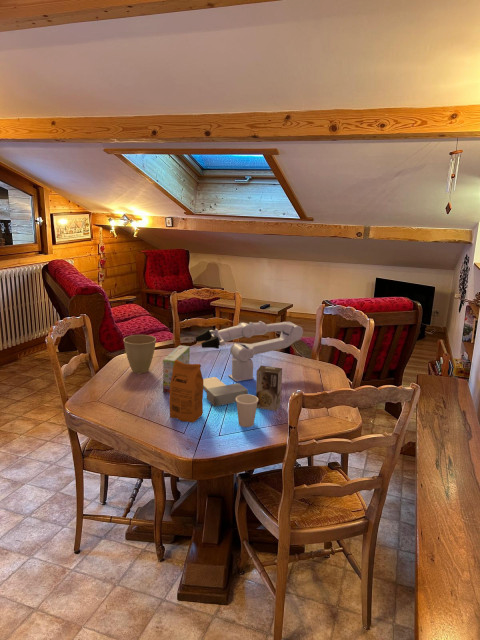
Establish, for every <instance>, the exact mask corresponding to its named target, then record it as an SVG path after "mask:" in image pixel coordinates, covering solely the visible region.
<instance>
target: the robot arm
mask: <svg viewBox="0 0 480 640" xmlns="http://www.w3.org/2000/svg"><path fill="white" fill-rule="evenodd" d="M267 332H280V334H279V335H280V336H279V337H276V338H272V339H268V340H264V341H260V342H259V341H258V342H253V343H239V342H236V343H234V344H232V345H231V347H230V354H231V355H232V358H231V374H228V377H229V378H230V379H232V380H233V381H234V382H236V383H238V382H243V381H248V380H252V379H254V362H253V360H252V359H254V356H255V355H259V354H265V353H268V352H272V351H278V350H282V349H286V348H288V347H290V346H291V345H292V344H294V343H295V342H298V341H300V340H301V339H302V337H303V335H304V334H303V333H304V329H303V328H302V326H300V325H297V324H295V323H294V322H292V321H282V322H274V323H267V324H266V323H265V322H263V321H261V320H258V322H251V321H250V322H249V323H247V322H243V321H241V322H239V323H238V325H235V326H230V327H227V328H223V329H220V330H218V328H215V329H214V330H212V329H211V330H210V329H209V328H206V329H205V330H204V331H203V332H202V333H200V334H198V335H196V336H195V337H194V338H195V342H198V343H199V342H201V348H203V349H208V348H209V349H217V350H218V349H220V347H221V346H225V343H227V342H230V341H234V340H237V339H240V338H243V337H244V338H246V339H247V338H249V339H250V338H251V337H253V336H261V335H266V334H267Z"/></svg>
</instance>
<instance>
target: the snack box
mask: <svg viewBox="0 0 480 640" xmlns="http://www.w3.org/2000/svg"><path fill="white" fill-rule="evenodd" d="M190 348H191V347H190V346H189V345H178V346H177V347H176V348H175V349H174V350H173V351H171V352H170V353H169V354H168V355H167V356H165V358H163V360H162V364H163V365H162V367H163V368H162V369H163V370H162V371H163V372H162V373H163V375H162V393H167V394H170V383H171V378H172V373H173V366H174V362H175V360H178V361H180V362H182V363H184V364H190V354H191V353H190V352H191V350H190Z"/></svg>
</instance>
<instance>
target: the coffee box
mask: <svg viewBox="0 0 480 640" xmlns="http://www.w3.org/2000/svg"><path fill="white" fill-rule="evenodd" d="M282 379H283V368H281V367H276V366H275V367H274V366H269V365H268V366H266V365H260V366H259V367H258V369H257V370H256V380H255V381H256V382H255V383H256V386H255V387H256V388H255V390H256V391H255V396H256V397H257V398H258V402H257V408H256V409H261V410H267V411H272V410H273V412H278V410H279V409H280V407H281V406H282V405H281V404H282V403H281V400H282ZM280 405H281V406H280Z"/></svg>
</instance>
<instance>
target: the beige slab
mask: <svg viewBox="0 0 480 640" xmlns="http://www.w3.org/2000/svg"><path fill="white" fill-rule="evenodd" d="M248 391H249V390H248V388H247V387H245V386H243V385H242V384H241V383H240V382H236V383H232V384H225V386H220V387H214V388H209V389H207V392H206V400H207V401H208V402H209V403H210V404H211V405H213V407H219V406H225V405H229V404H235V403H237V402H236V397H237V396H239V395H243V394H249V393H248Z"/></svg>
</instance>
